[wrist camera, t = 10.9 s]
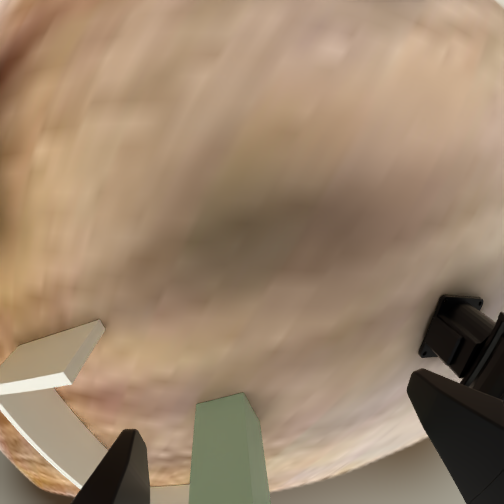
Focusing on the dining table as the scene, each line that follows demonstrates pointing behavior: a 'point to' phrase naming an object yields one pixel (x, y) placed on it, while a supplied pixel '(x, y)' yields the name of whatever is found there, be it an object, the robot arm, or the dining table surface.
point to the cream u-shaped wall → (60, 405)
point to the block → (228, 454)
